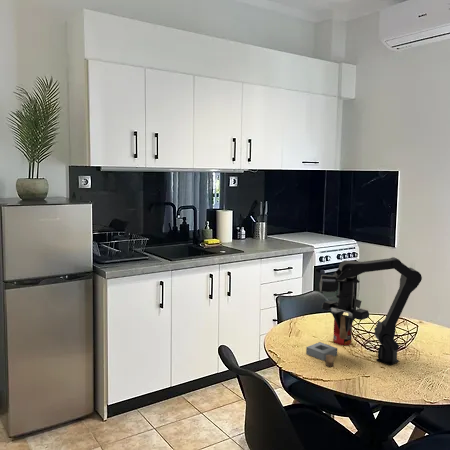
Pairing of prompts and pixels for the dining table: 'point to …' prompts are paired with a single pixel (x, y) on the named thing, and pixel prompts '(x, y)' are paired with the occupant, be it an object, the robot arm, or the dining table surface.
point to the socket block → (321, 350)
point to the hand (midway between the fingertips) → (343, 330)
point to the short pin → (329, 360)
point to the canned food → (337, 336)
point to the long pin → (343, 328)
